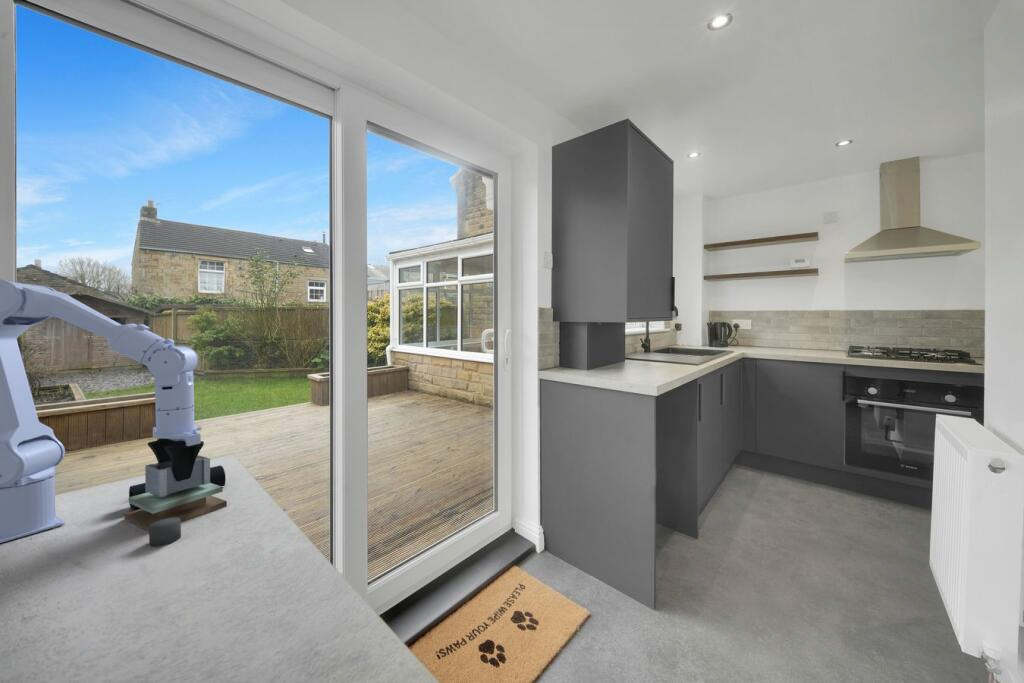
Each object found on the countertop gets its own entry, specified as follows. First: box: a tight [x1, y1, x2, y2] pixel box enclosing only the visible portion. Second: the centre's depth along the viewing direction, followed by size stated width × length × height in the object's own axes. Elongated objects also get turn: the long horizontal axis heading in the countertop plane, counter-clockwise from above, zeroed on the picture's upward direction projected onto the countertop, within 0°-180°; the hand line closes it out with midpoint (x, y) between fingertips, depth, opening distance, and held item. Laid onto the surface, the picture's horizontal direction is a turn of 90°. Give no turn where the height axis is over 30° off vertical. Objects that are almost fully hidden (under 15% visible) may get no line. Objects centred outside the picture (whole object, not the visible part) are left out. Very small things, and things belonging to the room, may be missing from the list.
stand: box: [124, 483, 228, 532], centre depth 77 cm, size 12×11×4 cm
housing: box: [144, 454, 211, 497], centre depth 77 cm, size 8×6×5 cm
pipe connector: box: [128, 465, 227, 511], centre depth 86 cm, size 12×5×15 cm
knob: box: [148, 518, 182, 548], centre depth 66 cm, size 4×4×3 cm
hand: (176, 477), depth 77 cm, fingers closed on housing, 5 cm apart
